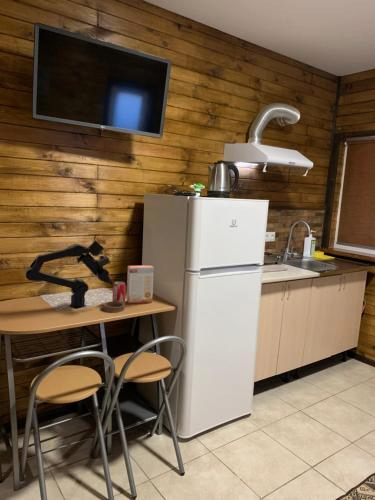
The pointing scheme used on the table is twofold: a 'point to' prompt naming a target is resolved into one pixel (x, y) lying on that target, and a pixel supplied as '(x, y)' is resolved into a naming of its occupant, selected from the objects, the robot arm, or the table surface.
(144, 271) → the cracker box
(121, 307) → the ring
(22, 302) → the table surface
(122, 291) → the soda can
